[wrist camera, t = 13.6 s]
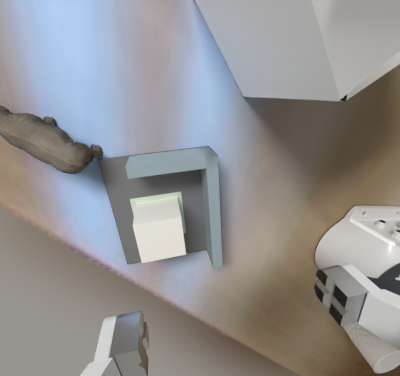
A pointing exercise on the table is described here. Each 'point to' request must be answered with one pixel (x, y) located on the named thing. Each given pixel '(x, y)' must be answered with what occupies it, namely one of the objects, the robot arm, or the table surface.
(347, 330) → the white cup
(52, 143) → the rhino figurine
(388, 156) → the table surface
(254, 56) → the gable box
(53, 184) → the table surface
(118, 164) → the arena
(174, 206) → the block
